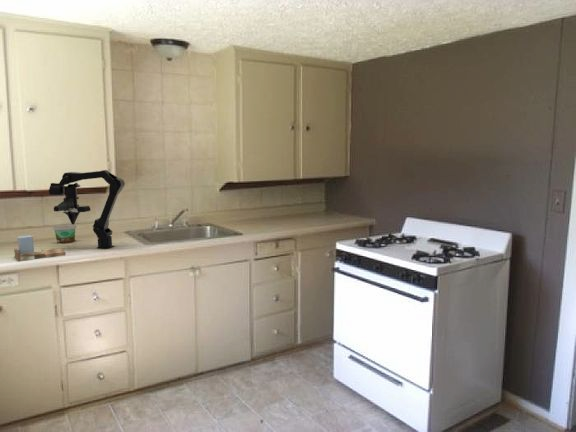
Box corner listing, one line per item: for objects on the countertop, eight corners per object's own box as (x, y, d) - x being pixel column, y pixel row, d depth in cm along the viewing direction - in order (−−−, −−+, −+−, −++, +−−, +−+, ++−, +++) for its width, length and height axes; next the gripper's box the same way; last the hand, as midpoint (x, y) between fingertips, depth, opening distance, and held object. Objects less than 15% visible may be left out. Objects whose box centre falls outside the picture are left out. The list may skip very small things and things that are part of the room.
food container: (56, 244, 264) (54, 227, 262) (54, 243, 269) (52, 225, 267) (79, 242, 271) (78, 225, 269) (77, 240, 276) (76, 223, 274)
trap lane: (60, 251, 248) (59, 243, 247) (65, 255, 238) (64, 247, 238) (14, 256, 235) (14, 248, 235) (18, 261, 226) (17, 253, 225)
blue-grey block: (32, 252, 237) (31, 235, 235) (34, 254, 233) (32, 236, 231) (19, 254, 233) (17, 236, 232) (20, 256, 229) (18, 238, 228)
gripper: (45, 196, 245) (47, 226, 247) (76, 197, 241) (78, 227, 244) (59, 194, 256) (61, 222, 258) (90, 195, 252) (91, 224, 254)
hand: (73, 224), depth 253 cm, fingers closed
